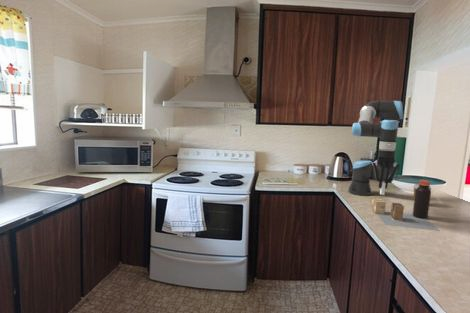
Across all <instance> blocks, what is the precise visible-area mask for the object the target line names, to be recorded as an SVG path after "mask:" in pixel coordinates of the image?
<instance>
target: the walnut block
mask: <svg viewBox="0 0 470 313" xmlns="http://www.w3.org/2000/svg"><path fill="white" fill-rule="evenodd" d="M404 211H405V206H404V205H403V204H402V203H401V202H395V201H393V202H391V206H390V212H391V214H390V217H391V218H392V219H393V220H394V221H402V219H403V213H404Z"/></svg>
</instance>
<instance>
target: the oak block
mask: <svg viewBox="0 0 470 313" xmlns="http://www.w3.org/2000/svg"><path fill="white" fill-rule="evenodd" d="M370 211H371V212H372V213H373V214H375V215H378V214H385V212H386V201H385V200H384V199H382V198H372V203H371V210H370Z"/></svg>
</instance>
